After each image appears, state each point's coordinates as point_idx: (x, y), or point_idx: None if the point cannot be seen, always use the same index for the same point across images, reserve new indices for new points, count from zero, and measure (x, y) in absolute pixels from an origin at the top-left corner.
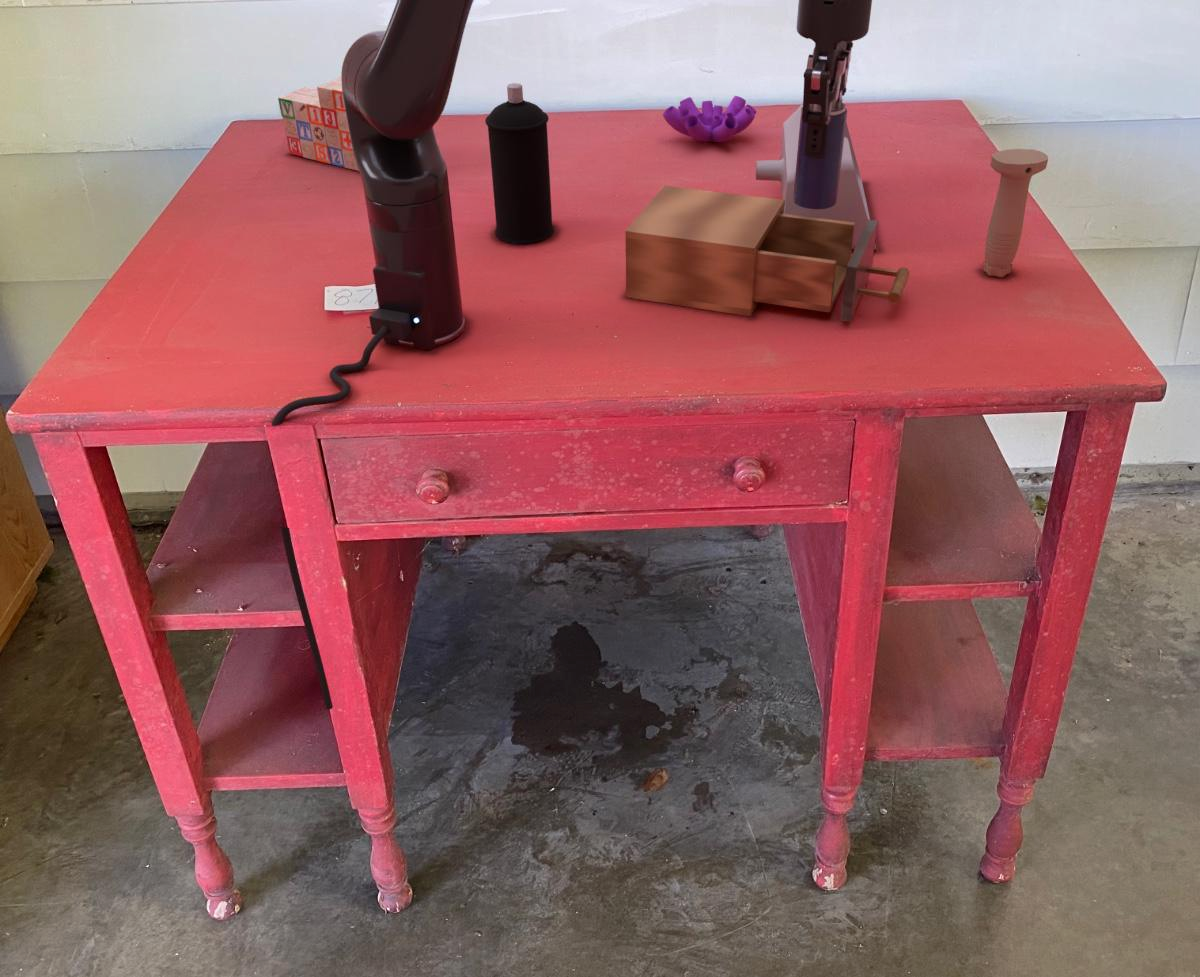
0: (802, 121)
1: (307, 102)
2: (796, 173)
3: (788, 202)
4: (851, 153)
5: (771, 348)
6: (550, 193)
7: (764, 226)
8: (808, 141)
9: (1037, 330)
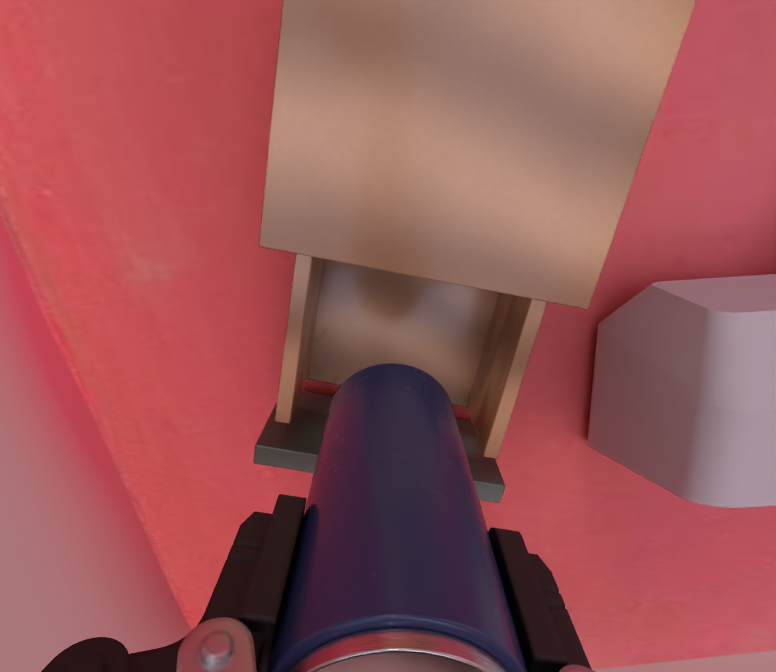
0: (70, 646)
1: None
2: (366, 410)
3: (672, 303)
4: None
5: (185, 271)
6: None
7: (402, 263)
8: (229, 554)
9: None
